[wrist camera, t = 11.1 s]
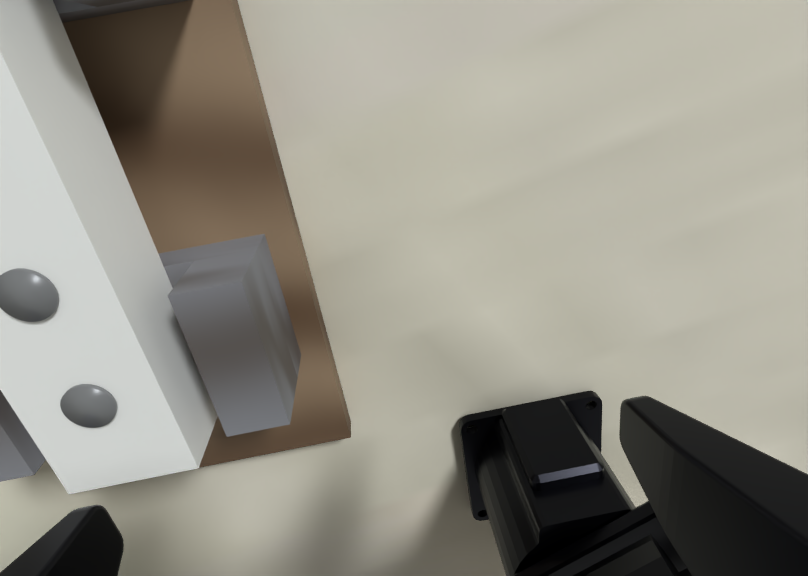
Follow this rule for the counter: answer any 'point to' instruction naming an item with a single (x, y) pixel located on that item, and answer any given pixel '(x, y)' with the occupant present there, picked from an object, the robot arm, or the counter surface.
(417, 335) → the counter surface
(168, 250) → the cradle board
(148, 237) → the white bar
